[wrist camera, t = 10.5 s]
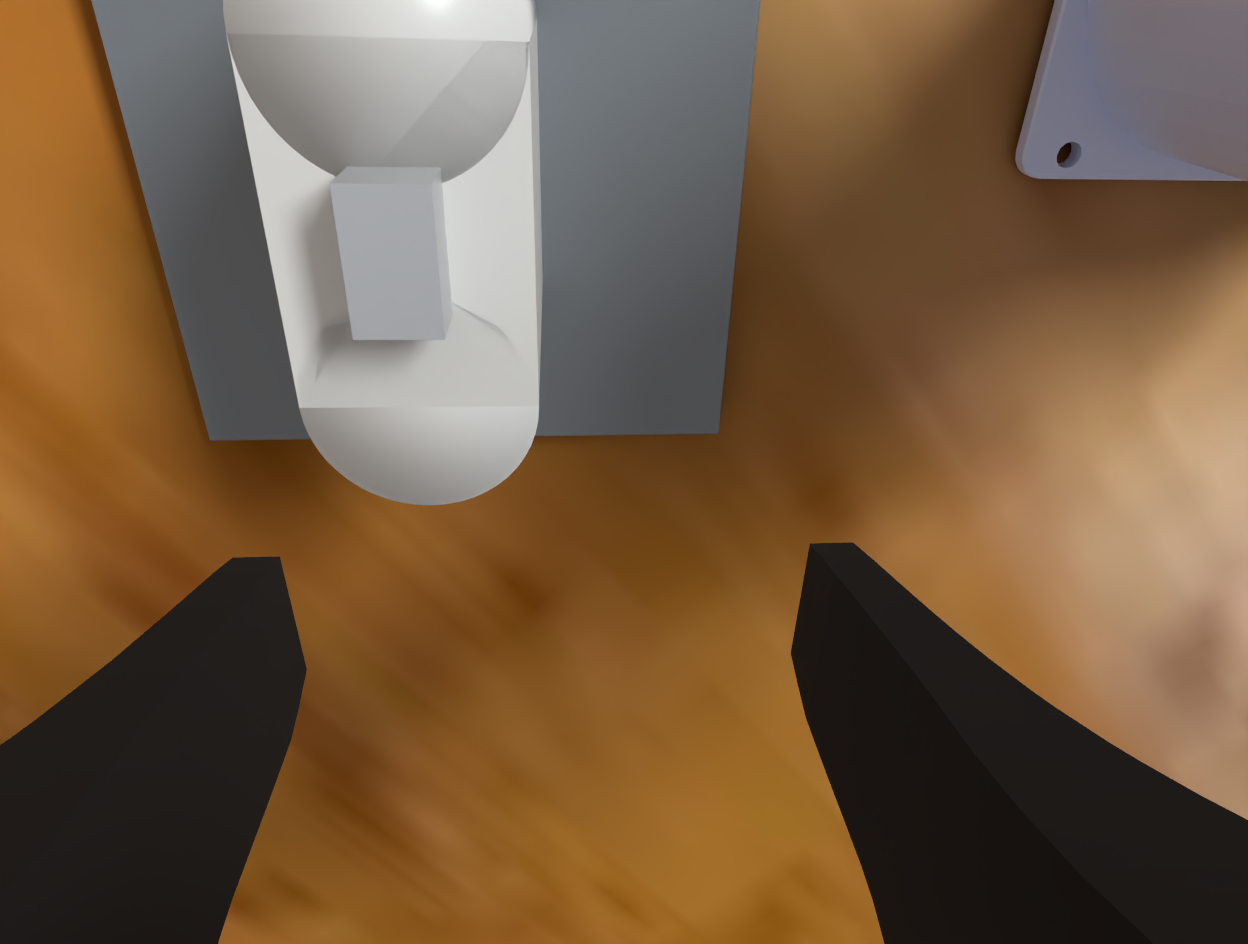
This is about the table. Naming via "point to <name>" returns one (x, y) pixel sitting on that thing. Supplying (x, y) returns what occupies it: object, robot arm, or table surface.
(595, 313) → the slate mat
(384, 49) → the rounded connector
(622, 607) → the table surface
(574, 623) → the table surface
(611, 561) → the table surface
